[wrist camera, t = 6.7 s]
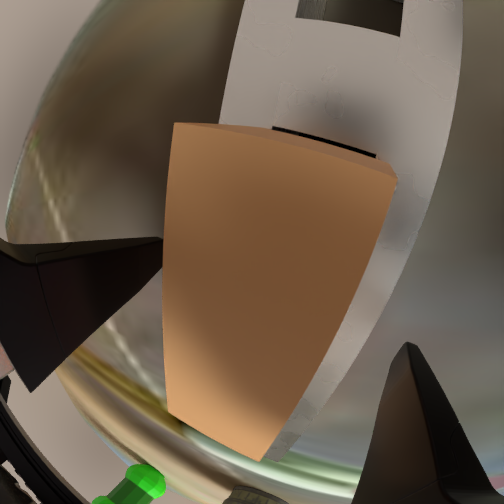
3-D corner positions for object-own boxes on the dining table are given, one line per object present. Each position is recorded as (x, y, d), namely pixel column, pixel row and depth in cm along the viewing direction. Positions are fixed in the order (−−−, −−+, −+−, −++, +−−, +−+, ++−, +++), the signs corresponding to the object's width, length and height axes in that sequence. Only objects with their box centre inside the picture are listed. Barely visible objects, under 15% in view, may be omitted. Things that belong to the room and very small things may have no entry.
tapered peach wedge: (286, 130, 10) (174, 122, 5) (387, 160, 9) (397, 178, 4) (243, 326, 15) (168, 411, 9) (312, 357, 14) (258, 462, 8)
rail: (448, -5, 5) (459, -39, 2) (293, 431, 17) (277, 462, 15) (291, -35, 7) (264, -68, 5) (210, 391, 20) (189, 417, 17)
